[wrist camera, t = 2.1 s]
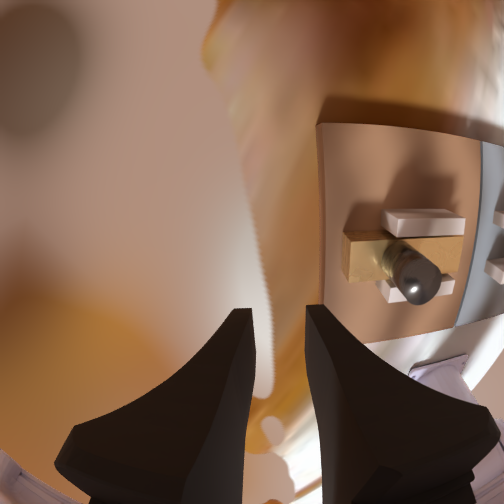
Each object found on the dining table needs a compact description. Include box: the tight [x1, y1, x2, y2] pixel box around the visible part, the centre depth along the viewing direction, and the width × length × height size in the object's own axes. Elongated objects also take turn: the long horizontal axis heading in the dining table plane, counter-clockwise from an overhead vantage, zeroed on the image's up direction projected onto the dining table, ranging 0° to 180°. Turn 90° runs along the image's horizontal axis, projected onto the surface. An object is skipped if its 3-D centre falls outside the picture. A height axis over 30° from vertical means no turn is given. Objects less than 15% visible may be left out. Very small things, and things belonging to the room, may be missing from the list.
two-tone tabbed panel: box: [316, 123, 504, 344], centre depth 15 cm, size 20×15×4 cm
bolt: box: [341, 230, 464, 305], centre depth 13 cm, size 8×2×5 cm, turn 95°
